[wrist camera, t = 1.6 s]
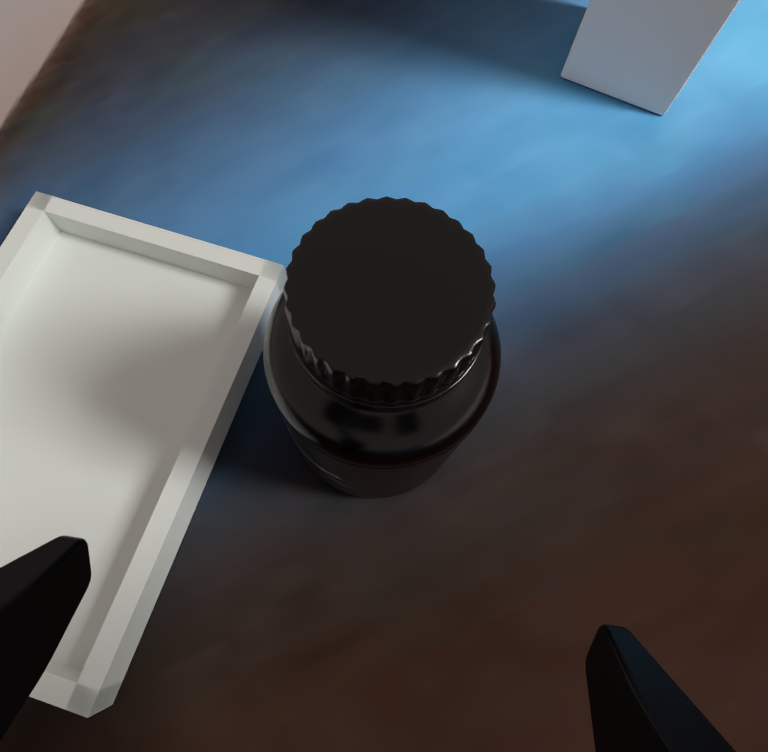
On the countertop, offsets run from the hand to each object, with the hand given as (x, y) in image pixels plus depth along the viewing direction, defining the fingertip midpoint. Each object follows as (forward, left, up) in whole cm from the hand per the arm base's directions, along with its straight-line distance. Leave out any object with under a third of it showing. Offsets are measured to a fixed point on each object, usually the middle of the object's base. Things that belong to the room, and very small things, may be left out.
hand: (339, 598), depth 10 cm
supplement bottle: (+6, +1, -13) cm, 14 cm away
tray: (+2, +13, -12) cm, 18 cm away
